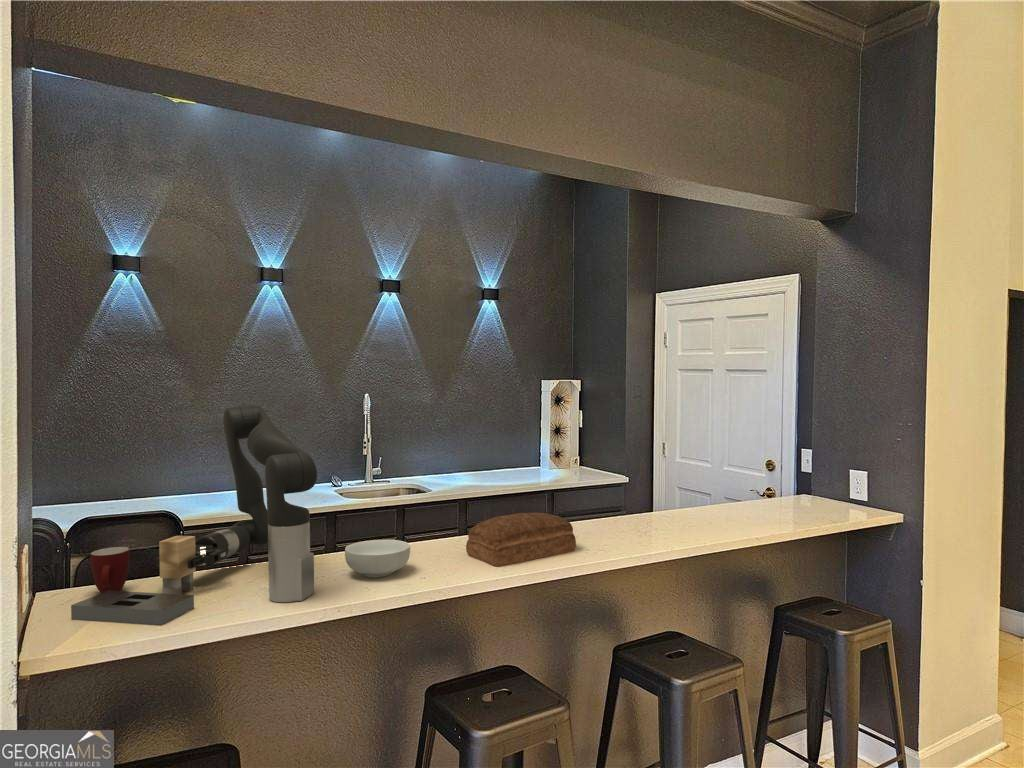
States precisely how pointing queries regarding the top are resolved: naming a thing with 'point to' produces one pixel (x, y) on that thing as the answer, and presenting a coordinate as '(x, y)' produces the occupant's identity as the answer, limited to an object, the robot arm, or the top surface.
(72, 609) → the dark grey slab
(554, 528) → the bread
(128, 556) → the mug
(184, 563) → the tan wooden tall block
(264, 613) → the top surface
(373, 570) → the cereal bowl
